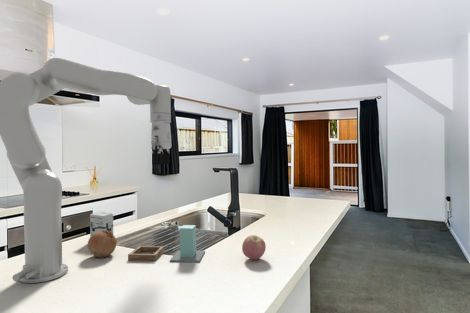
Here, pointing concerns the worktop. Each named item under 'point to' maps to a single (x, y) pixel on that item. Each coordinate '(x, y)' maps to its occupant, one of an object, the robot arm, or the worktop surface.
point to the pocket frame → (146, 257)
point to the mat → (196, 257)
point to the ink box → (101, 222)
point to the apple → (253, 247)
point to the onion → (102, 244)
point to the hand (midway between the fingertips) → (161, 164)
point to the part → (188, 241)
